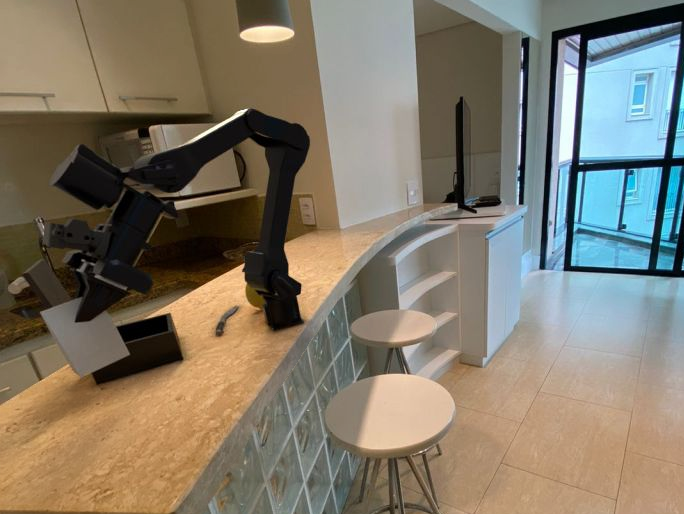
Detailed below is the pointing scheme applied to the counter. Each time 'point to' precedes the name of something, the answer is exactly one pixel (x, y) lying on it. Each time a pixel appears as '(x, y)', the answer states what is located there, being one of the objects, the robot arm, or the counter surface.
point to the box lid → (42, 285)
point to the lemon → (254, 297)
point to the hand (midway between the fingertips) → (75, 324)
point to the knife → (222, 320)
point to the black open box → (144, 348)
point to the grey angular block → (84, 338)
